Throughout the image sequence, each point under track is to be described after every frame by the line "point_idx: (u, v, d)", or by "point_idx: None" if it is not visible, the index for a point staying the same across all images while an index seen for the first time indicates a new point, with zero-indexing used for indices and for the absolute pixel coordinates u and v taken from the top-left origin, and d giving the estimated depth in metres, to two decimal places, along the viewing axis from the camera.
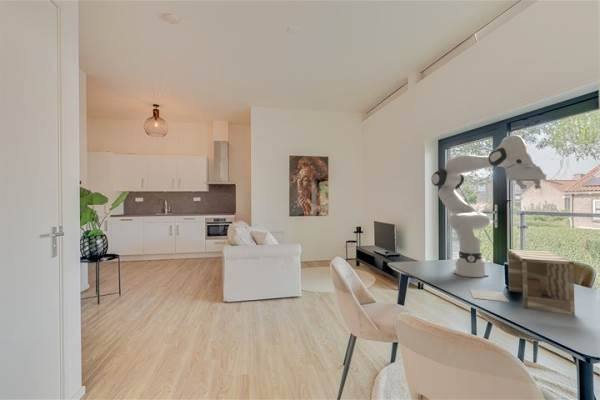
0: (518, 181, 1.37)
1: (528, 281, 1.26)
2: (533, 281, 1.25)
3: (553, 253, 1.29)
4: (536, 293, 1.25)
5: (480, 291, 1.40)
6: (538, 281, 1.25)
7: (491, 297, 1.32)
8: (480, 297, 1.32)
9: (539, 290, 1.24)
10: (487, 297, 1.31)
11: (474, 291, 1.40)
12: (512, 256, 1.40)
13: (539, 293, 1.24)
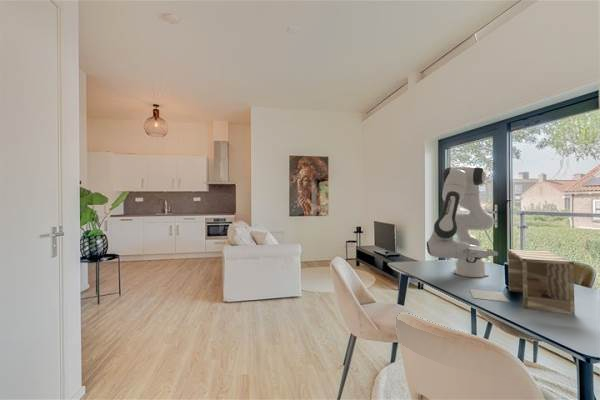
0: None
1: (528, 281, 1.26)
2: (533, 281, 1.25)
3: (553, 253, 1.29)
4: (536, 293, 1.25)
5: (480, 291, 1.40)
6: (538, 281, 1.25)
7: (491, 297, 1.32)
8: (480, 297, 1.32)
9: (539, 290, 1.24)
10: (487, 297, 1.31)
11: (474, 291, 1.40)
12: (512, 256, 1.40)
13: (539, 293, 1.24)
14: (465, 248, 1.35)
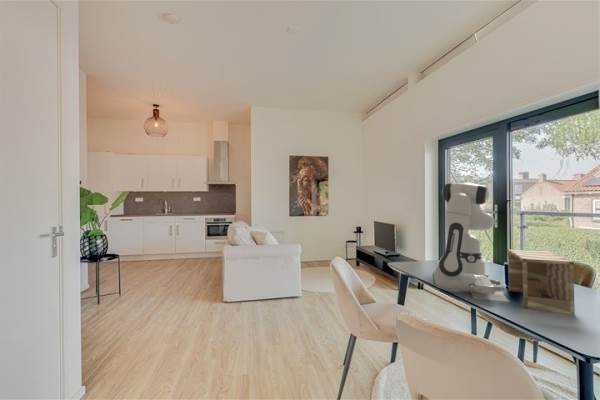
0: None
1: (528, 281, 1.26)
2: (533, 281, 1.25)
3: (553, 253, 1.29)
4: (536, 293, 1.25)
5: None
6: (538, 281, 1.25)
7: (491, 297, 1.32)
8: (480, 297, 1.32)
9: (539, 290, 1.24)
10: (487, 297, 1.31)
11: (474, 291, 1.40)
12: (512, 256, 1.40)
13: (539, 293, 1.24)
14: (471, 282, 1.34)
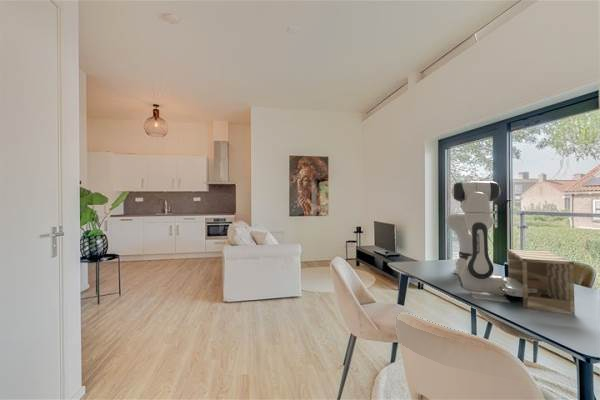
0: None
1: (528, 281, 1.26)
2: (533, 281, 1.25)
3: (553, 253, 1.29)
4: (536, 293, 1.25)
5: None
6: (538, 281, 1.25)
7: (491, 297, 1.32)
8: (480, 297, 1.32)
9: (539, 290, 1.24)
10: (487, 297, 1.31)
11: None
12: (512, 256, 1.40)
13: (539, 293, 1.24)
14: (501, 284, 1.29)
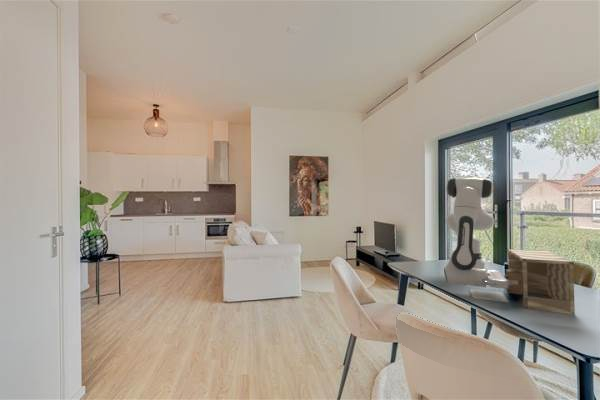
0: None
1: (510, 273, 1.29)
2: (515, 273, 1.28)
3: (553, 253, 1.29)
4: (517, 285, 1.28)
5: (480, 291, 1.40)
6: (519, 273, 1.28)
7: (491, 297, 1.32)
8: (480, 297, 1.32)
9: (520, 282, 1.27)
10: (487, 297, 1.31)
11: (474, 291, 1.40)
12: (512, 256, 1.40)
13: (520, 285, 1.27)
14: (484, 276, 1.32)
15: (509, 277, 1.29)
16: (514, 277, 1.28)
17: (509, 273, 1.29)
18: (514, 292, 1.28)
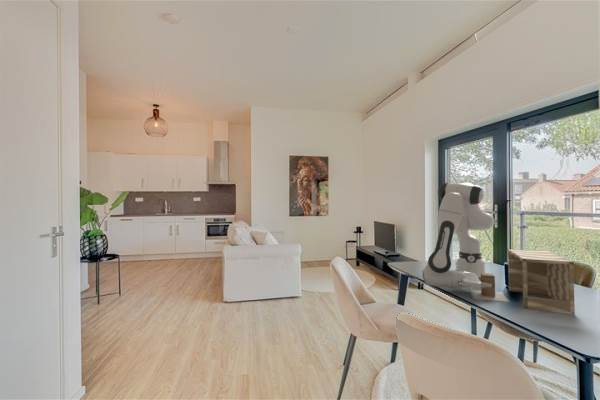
0: None
1: (484, 277, 1.34)
2: (488, 277, 1.33)
3: (553, 253, 1.29)
4: (491, 288, 1.32)
5: (480, 291, 1.40)
6: (493, 276, 1.32)
7: (491, 297, 1.32)
8: (480, 297, 1.32)
9: (493, 285, 1.32)
10: (487, 297, 1.31)
11: (474, 291, 1.40)
12: (512, 256, 1.40)
13: (493, 288, 1.32)
14: (460, 278, 1.37)
15: (483, 280, 1.34)
16: (488, 280, 1.33)
17: (483, 276, 1.34)
18: (488, 295, 1.33)
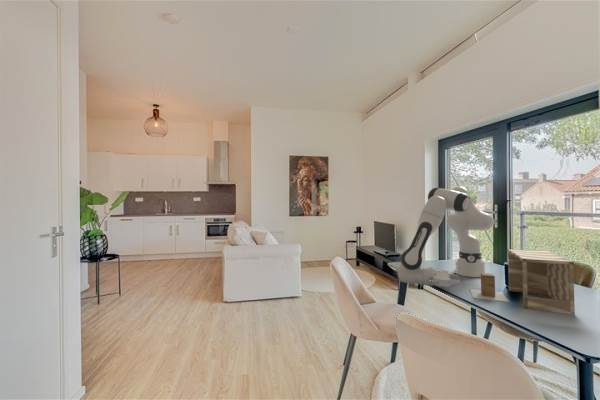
0: None
1: (484, 277, 1.34)
2: (488, 277, 1.33)
3: (553, 253, 1.29)
4: (491, 288, 1.32)
5: (480, 291, 1.40)
6: (493, 276, 1.32)
7: (491, 297, 1.32)
8: (480, 297, 1.32)
9: (493, 285, 1.32)
10: (487, 297, 1.31)
11: (474, 291, 1.40)
12: (512, 256, 1.40)
13: (493, 288, 1.32)
14: (431, 276, 1.42)
15: (483, 280, 1.34)
16: (488, 280, 1.33)
17: (483, 276, 1.34)
18: (488, 295, 1.33)
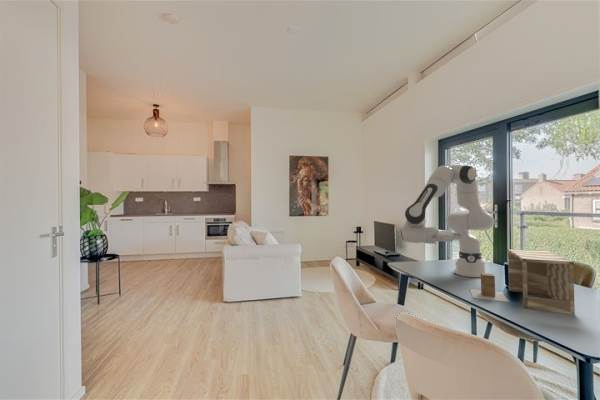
0: None
1: (484, 277, 1.34)
2: (488, 277, 1.33)
3: (553, 253, 1.29)
4: (491, 288, 1.32)
5: (480, 291, 1.40)
6: (493, 276, 1.32)
7: (491, 297, 1.32)
8: (480, 297, 1.32)
9: (493, 285, 1.32)
10: (487, 297, 1.31)
11: (474, 291, 1.40)
12: (512, 256, 1.40)
13: (493, 288, 1.32)
14: (434, 233, 1.46)
15: (483, 280, 1.34)
16: (488, 280, 1.33)
17: (483, 276, 1.34)
18: (488, 295, 1.33)
